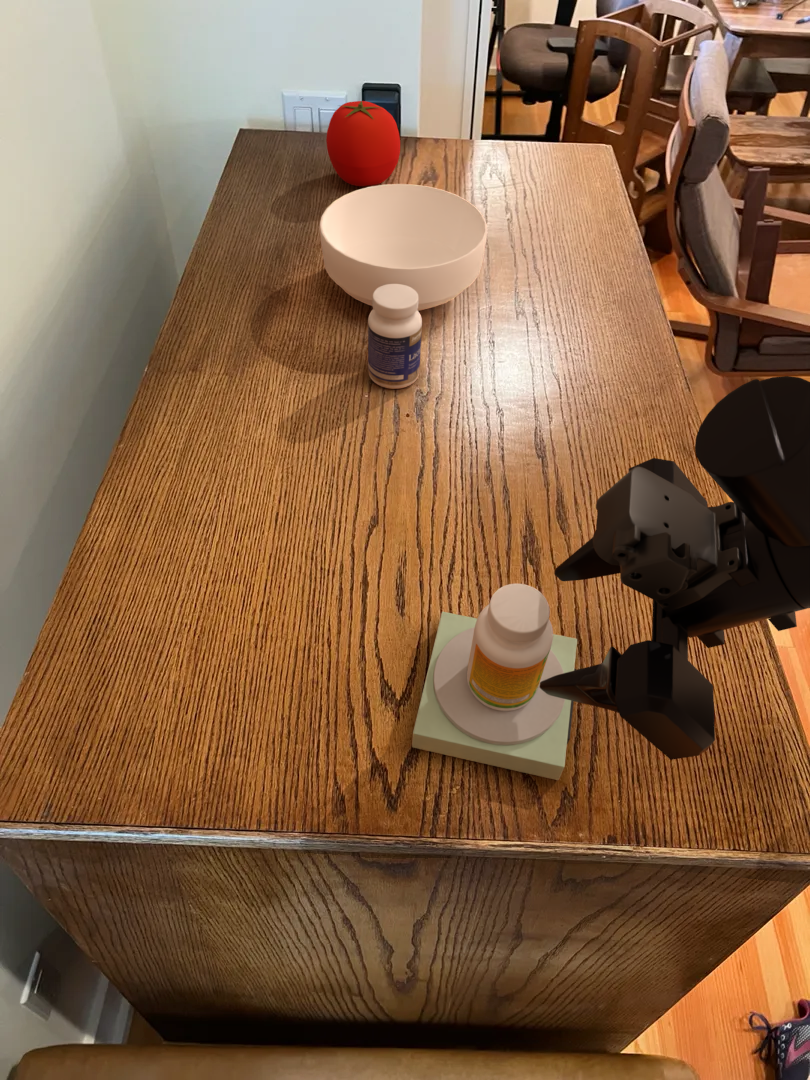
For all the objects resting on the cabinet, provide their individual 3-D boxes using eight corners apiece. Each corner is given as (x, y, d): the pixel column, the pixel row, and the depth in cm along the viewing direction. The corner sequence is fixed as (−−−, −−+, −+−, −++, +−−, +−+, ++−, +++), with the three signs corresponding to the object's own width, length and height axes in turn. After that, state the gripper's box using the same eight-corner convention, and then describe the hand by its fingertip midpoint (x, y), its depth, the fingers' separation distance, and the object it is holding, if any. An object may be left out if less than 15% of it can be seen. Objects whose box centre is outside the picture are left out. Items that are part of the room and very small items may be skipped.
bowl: (293, 277, 97) (287, 212, 91) (415, 231, 105) (418, 169, 99) (385, 354, 88) (386, 289, 81) (512, 298, 95) (522, 234, 89)
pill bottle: (419, 391, 84) (423, 312, 76) (366, 390, 83) (365, 310, 76) (419, 359, 87) (423, 280, 80) (369, 357, 87) (368, 278, 79)
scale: (574, 654, 63) (582, 634, 61) (561, 781, 56) (569, 764, 54) (440, 627, 64) (442, 606, 62) (411, 747, 57) (412, 729, 55)
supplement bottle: (543, 711, 56) (569, 640, 49) (470, 715, 56) (484, 644, 48) (531, 647, 60) (552, 572, 52) (462, 651, 59) (474, 575, 52)
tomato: (363, 157, 119) (362, 81, 110) (413, 181, 114) (415, 103, 106) (312, 180, 114) (307, 101, 105) (362, 205, 109) (361, 126, 101)
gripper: (710, 352, 44) (496, 458, 54) (721, 618, 32) (446, 691, 42) (796, 473, 49) (587, 550, 59) (834, 741, 37) (564, 780, 47)
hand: (551, 629), depth 51 cm, fingers open, 9 cm apart
